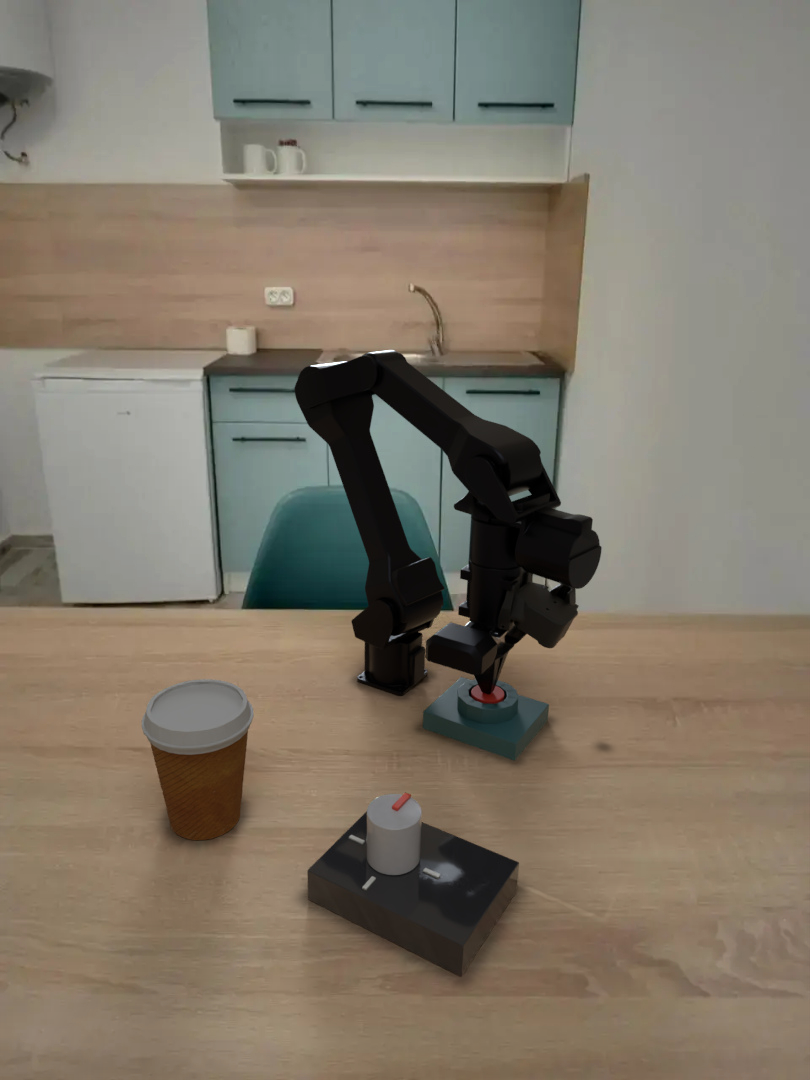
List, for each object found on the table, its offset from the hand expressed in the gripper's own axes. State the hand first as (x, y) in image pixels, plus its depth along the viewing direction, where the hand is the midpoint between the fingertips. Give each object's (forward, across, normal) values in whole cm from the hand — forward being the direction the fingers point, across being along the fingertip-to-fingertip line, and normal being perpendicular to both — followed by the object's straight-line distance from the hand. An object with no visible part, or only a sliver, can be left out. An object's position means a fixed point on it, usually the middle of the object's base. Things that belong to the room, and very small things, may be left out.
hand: (487, 692), depth 90 cm
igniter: (+4, 0, 0) cm, 4 cm away
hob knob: (+1, -26, -4) cm, 26 cm away
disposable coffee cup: (+4, -28, +15) cm, 32 cm away
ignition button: (+2, 0, 0) cm, 2 cm away
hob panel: (+4, -26, -6) cm, 27 cm away
